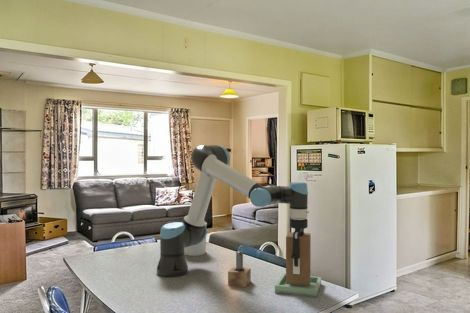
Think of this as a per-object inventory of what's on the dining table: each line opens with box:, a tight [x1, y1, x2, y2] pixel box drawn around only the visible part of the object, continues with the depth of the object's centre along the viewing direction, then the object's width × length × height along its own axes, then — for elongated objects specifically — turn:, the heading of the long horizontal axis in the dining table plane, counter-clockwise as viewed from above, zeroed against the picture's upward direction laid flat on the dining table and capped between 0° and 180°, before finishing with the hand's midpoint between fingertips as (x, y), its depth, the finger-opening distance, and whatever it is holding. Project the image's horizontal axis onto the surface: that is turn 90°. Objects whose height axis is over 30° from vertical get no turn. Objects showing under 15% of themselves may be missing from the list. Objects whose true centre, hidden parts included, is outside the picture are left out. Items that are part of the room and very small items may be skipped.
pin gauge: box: [235, 250, 244, 271], centre depth 169 cm, size 3×3×14 cm
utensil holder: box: [184, 222, 208, 257], centre depth 223 cm, size 15×15×18 cm
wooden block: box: [285, 231, 312, 286], centre depth 163 cm, size 10×10×20 cm
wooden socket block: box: [227, 266, 252, 288], centre depth 169 cm, size 8×8×6 cm
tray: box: [274, 273, 322, 298], centre depth 163 cm, size 17×17×3 cm
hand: (298, 270), depth 163 cm, fingers closed on wooden block, 10 cm apart
